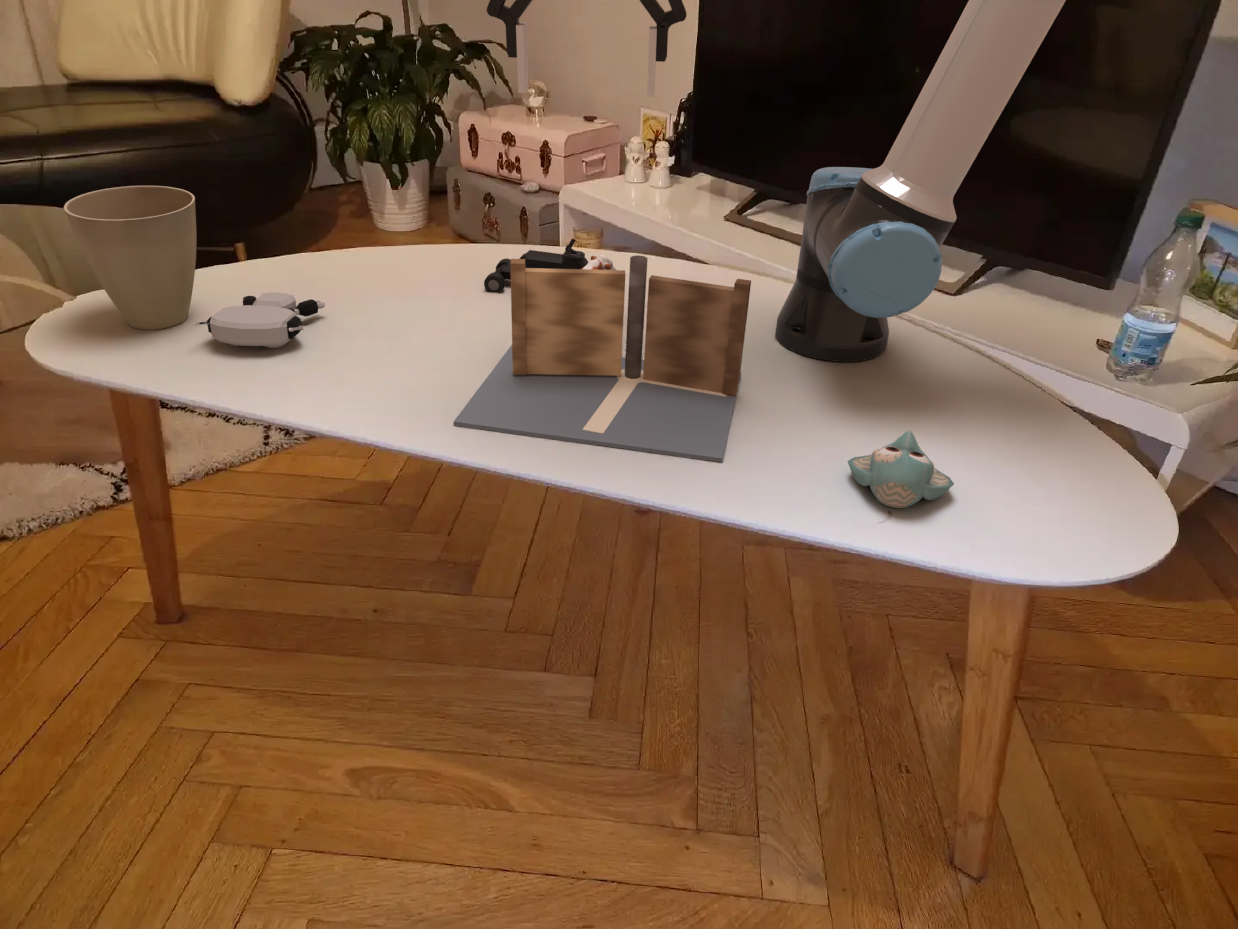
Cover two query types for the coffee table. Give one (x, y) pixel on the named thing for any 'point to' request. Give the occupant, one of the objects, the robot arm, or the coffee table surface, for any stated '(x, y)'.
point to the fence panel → (566, 320)
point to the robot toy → (261, 320)
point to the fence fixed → (686, 331)
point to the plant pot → (140, 249)
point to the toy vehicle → (536, 265)
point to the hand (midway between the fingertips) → (587, 93)
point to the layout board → (602, 411)
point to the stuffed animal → (900, 473)
